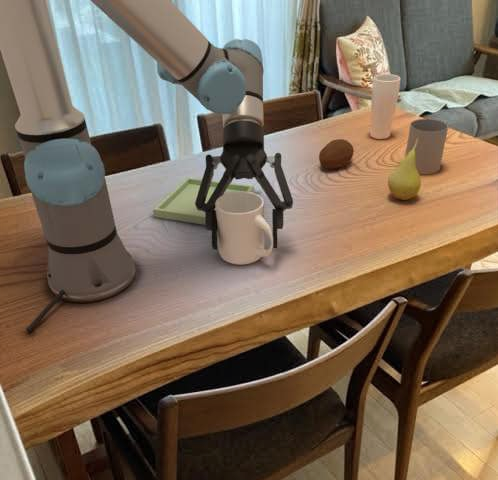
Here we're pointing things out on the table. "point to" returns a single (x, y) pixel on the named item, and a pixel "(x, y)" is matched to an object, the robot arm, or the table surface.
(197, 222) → the tray
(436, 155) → the cup
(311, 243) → the table surface
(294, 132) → the table surface
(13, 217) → the table surface
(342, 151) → the potato
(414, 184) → the fruit
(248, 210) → the mug
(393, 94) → the drinking glass
